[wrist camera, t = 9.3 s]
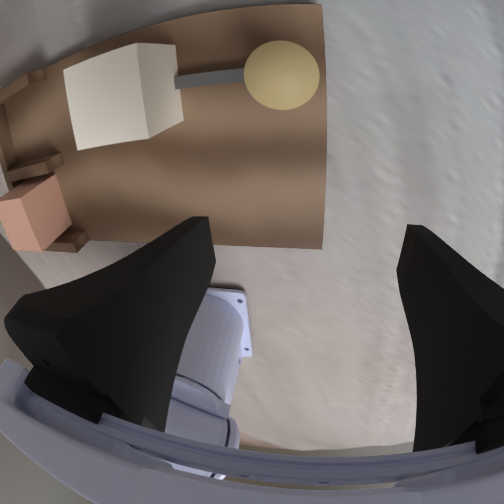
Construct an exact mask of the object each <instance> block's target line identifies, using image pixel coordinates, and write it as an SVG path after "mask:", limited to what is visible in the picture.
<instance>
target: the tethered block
mask: <svg viewBox="0 0 504 504" xmlns="http://www.w3.org/2000/svg"><path fill="white" fill-rule="evenodd" d="M63 73H64V80H65V87H66V94H67V100H68V106H69V111H70V117H71V122H72V127H73V132H74V136H75V141H76V145H77V150H83V149H88V148H93V147H98V146H104V145H110V144H116V143H122V142H128V141H135V140H143V139H149V138H151V137H153V136H155V135H157V134H159V133H160V132H162V131H164V130H166V129H168V128H170V127H172V126H174V125H176V124H178V123H180V122H182V121H184V119H183V111H182V103H181V94H180V89H183V88H190V87H197V86H205V85H215V84H225V83H238V82H245V84H246V87H247V89H248V91H249V93H250V94H251V95H252V97H253V98H254V99H255V100H257V101H258V102H259V103H261V104H262V105H264V106H266V107H269V108H272V109H277V110H289V109H294V108H297V107H299V106H302V105H303V104H305V103H306V102H307V101H309V100H310V99H311V98H312V96H313V95H314V94H315V92H316V90H317V88H318V85H319V78H320V74H319V68H318V65H317V63H316V61H315V59H314V57H313V56H312V55H311V53H310V52H308V51H307V50H306V49H305V48H304V47H302V46H300V45H298V44H296V43H293V42H290V41H281V40H279V41H272V42H268V43H265V44H263V45H261V46H259V47H258V48H257V49H255V50H254V51H253V52H252V53H251V55H250V56H249V58H248V59H247V61H246V64H245V67H244V69H232V70H221V71H212V72H204V73H196V74H189V75H183V76H178V67H177V57H176V46H175V45H169V44H153V43H134V44H131V45H128V46H124V47H121V48H118V49H115V50H112V51H109V52H107V53H104V54H101V55H98V56H96V57H93V58H90V59H88V60H85V61H83V62H80V63H78V64H76V65H73V66H71V67H69V68H66V69H64V70H63Z"/></svg>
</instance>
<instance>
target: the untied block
mask: <svg viewBox="0 0 504 504" xmlns="http://www.w3.org/2000/svg"><path fill="white" fill-rule="evenodd" d="M0 220H1V222H2V225H3V227H4V229H5V232H6V234H7V236H8V239H9V241H10V243H11V245H12V247H13V249H14V250H21V251H33V252H43V251H44V250H45V249H46V248H47V247H48V246H49V245H50V244H51V243H52V242H53V241H54V240H55V239H56V238H57V237H58V236H60V235H61V234H62V233H63V232H64V231H65V230H66V229H67V228H68V227H69V226H70V225H71V224H72V222H71V219H70V216H69V214H68V211H67V208H66V205H65V202H64V199H63V196H62V193H61V190H60V187H59V183H58V180H57V177H56V174H53V175H48V176H43V177H38V178H33V179H29V180H25V181H24V182H22V183H21V184H19V185H18V186H16V187H15V188H13V189H12V190H11V191H9V192H8V193H6V194H5V195H4V196H2V197H1V198H0Z"/></svg>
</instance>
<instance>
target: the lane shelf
mask: <svg viewBox="0 0 504 504" xmlns="http://www.w3.org/2000/svg"><path fill="white" fill-rule="evenodd" d="M279 40H281V41H290V42H293V43H296V44H298V45H300V46H302V47H304V48H305V49H306V50H307V51H308V52H310V53H311V55H312V56H313V57H314V59H315V61H316V63H317V65H318V68H319V74H320V78H319V85H318V88H317V90H316V92H315V94H314V95H313V96H312V98H311V99H310V100H309V101H307V102H306V103H305V104H303V105H302V106H299V107H297V108H294V109H289V110H277V109H272V108H269V107H266V106H264V105H262V104H261V103H259V102H258V101H257V100H255V99H254V98H253V97H252V95H251V94H250V93H249V91H248V89H247V87H246V84H245V82H238V83H225V84H215V85H205V86H197V87H190V88H183V89H180V94H181V103H182V111H183V119H184V121H182V122H180V123H178V124H176V125H174V126H172V127H170V128H168V129H166V130H164V131H162V132H160V133H159V134H157V135H155V136H153V137H151V138H149V139H143V140H135V141H128V142H122V143H116V144H110V145H104V146H98V147H93V148H88V149H83V150H77V145H76V141H75V136H74V132H73V127H72V122H71V117H70V111H69V106H68V100H67V94H66V87H65V80H64V73H63V70H64V69H66V68H69V67H71V66H73V65H76V64H78V63H80V62H83V61H85V60H88V59H90V58H93V57H96V56H98V55H101V54H104V53H107V52H109V51H112V50H115V49H118V48H121V47H124V46H128V45H131V44H134V43H153V44H169V45H175V46H176V57H177V67H178V76H183V75H189V74H196V73H204V72H212V71H221V70H232V69H244V67H245V64H246V61H247V59H248V58H249V56H250V55H251V53H252V52H253V51H254V50H255V49H257V48H258V47H259V46H261V45H263V44H265V43H268V42H272V41H279ZM326 152H327V98H326V64H325V44H324V28H323V15H322V4H282V5H263V6H251V7H241V8H233V9H226V10H219V11H213V12H207V13H201V14H196V15H191V16H186V17H182V18H177V19H173V20H169V21H165V22H161V23H158V24H154V25H151V26H147V27H144V28H141V29H137V30H134V31H131V32H128V33H125V34H122V35H119V36H117V37H114V38H111V39H108V40H106V41H103V42H101V43H98V44H96V45H93V46H91V47H89V48H86V49H84V50H82V51H79V52H77V53H75V54H73V55H71V56H69V57H66V58H64V59H62V60H60V61H58V62H56V63H54V64H53V65H51V66H49V67H47V68H44V69H40V70H35V71H31V72H27V73H26V74H24V75H22V76H21V77H19V78H18V79H16V80H15V81H13V82H12V83H10V84H9V85H7V86H6V87H4V88H3V89H1V90H0V163H1V167H2V170H3V173H4V177H5V180H6V183H7V186H8V189H9V191H11V190H12V189H13V188H15V187H16V186H18V185H19V184H21V183H22V182H24V181H25V180H29V179H33V178H38V177H43V176H48V175H53V174H56V177H57V180H58V183H59V187H60V190H61V193H62V196H63V199H64V202H65V205H66V208H67V211H68V214H69V216H70V219H71V222H72V224H71V225H70V226H69V227H68V228H67V229H66V230H65V231H64V232H63V233H62V234H61V235H60V236H58V237H57V238H56V239H55V240H54V241H53V242H52V243H51V244H50V245H49V246H48V247H47V248H46V249H45V250H44V251H57V252H71V253H78V251H79V250H80V249H81V248H82V247H83V246H84V245H85V244H86V243H87V242H88V241H89V240H97V241H125V242H151V241H153V240H155V239H156V238H158V237H159V236H161V235H162V234H164V233H165V232H167V231H168V230H170V229H172V228H173V227H175V226H176V225H178V224H179V223H181V222H183V221H185V220H186V219H188V218H190V217H192V216H208V217H209V224H210V230H211V236H212V242H213V245H230V246H254V247H278V248H301V249H322V242H323V227H324V210H325V188H326Z"/></svg>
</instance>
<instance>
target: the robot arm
mask: <svg viewBox="0 0 504 504" xmlns="http://www.w3.org/2000/svg"><path fill="white" fill-rule="evenodd" d="M215 263H216V259H215V253H214V247H213V242H212V236H211V230H210V224H209V217H208V216H192V217H190V218H188V219H186V220H185V221H183V222H181V223H179V224H178V225H176V226H175V227H173V228H172V229H170V230H168V231H167V232H165V233H164V234H162V235H161V236H159V237H158V238H156V239H155V240H153V241H151V242H150V243H148V244H146V245H145V246H143V247H141V248H140V249H138V250H137V251H135V252H133V253H132V254H130V255H128V256H126V257H124V258H123V259H121V260H119V261H117V262H115V263H113V264H111V265H109V266H107V267H105V268H103V269H100V270H98V271H96V272H93V273H91V274H89V275H87V276H84V277H82V278H79V279H77V280H74V281H71V282H68V283H65V284H62V285H59V286H56V287H53V288H50V289H46V290H42V291H39V292H34V293H31V294H26V295H24V296H23V297H21V298H20V299H19V300H18V302H17V303H16V304H15V305H14V307H13V308H12V309H11V310H10V311H9V313H8V314H7V315H6V316H5V319H4V324H5V328H6V330H7V332H8V334H9V336H10V337H11V338H12V340H13V341H14V343H15V344H16V345H17V346H18V347H19V349H20V350H21V351H22V352H23V354H24V355H25V356H26V357H27V359H28V360H29V361H30V362H31V363H32V364H33V365H34V367H33V368H32V370H31V371H30V372H29V371H28V370H27V369H26V368H24V367H23V366H21V365H20V364H18V363H16V362H14V361H12V360H11V359H9V358H6V359H5V361H4V362H3V364H2V365H1V367H0V432H1V433H2V434H3V435H4V436H5V437H6V438H7V439H8V440H9V441H11V442H12V443H13V444H14V445H15V446H16V447H17V448H18V449H19V450H21V451H22V452H23V453H24V454H25V455H26V456H28V457H29V458H30V459H31V460H32V461H34V462H35V463H36V464H38V465H39V466H40V467H41V468H42V469H44V470H45V471H46V472H48V473H49V474H50V475H52V476H53V477H54V478H56V479H57V480H59V481H60V482H61V483H63V484H64V485H66V486H67V487H69V488H70V489H72V490H73V491H75V492H76V493H78V494H80V495H81V496H83V497H84V498H86V499H88V500H89V501H91V502H93V503H95V504H504V289H503V288H502V287H501V286H499V285H498V284H496V283H495V282H494V281H492V280H491V279H489V278H488V277H487V276H485V275H484V274H483V273H481V272H480V271H479V270H478V269H476V268H475V267H474V266H473V265H471V264H470V263H469V262H468V261H467V260H465V259H464V258H463V257H462V256H461V255H459V254H458V253H457V252H456V251H455V250H453V249H452V248H451V247H450V246H449V245H448V244H446V243H445V242H444V241H443V240H442V239H440V238H439V237H438V236H437V235H435V234H434V233H433V232H432V231H430V230H429V229H427V228H426V227H424V226H423V225H411V224H407V228H406V233H405V237H404V242H403V246H402V250H401V254H400V258H399V262H398V266H397V270H396V271H397V278H398V284H399V291H400V296H401V299H402V303H403V307H404V311H405V314H406V318H407V322H408V326H409V330H410V334H411V338H412V343H413V348H414V354H415V366H416V382H417V412H416V428H415V438H414V446H413V452H411V453H403V454H392V455H380V456H364V457H363V456H361V457H315V456H314V457H312V456H296V455H283V454H272V453H264V452H256V451H248V450H241V449H238V448H239V442H240V433H239V429H238V427H237V423H236V421H235V420H234V419H233V418H231V417H228V416H229V412H230V408H231V405H229V404H230V403H231V400H232V397H233V393H234V389H235V385H236V381H237V377H238V373H239V369H240V365H241V361H242V357H251V356H252V354H253V350H252V341H251V333H250V325H249V316H248V308H247V299H246V293H245V292H244V291H242V290H234V289H221V288H209V284H210V281H211V278H212V274H213V271H214V267H215ZM239 299H241V300H239ZM226 476H232V477H237V478H244V479H251V480H257V481H265V482H275V483H286V484H301V485H362V484H378V483H388V482H397V481H400V482H397V483H396V484H395V485H394V487H392V488H381V489H363V490H336V491H335V490H327V491H326V490H298V489H284V488H273V487H264V486H257V485H249V484H243V483H237V482H231V481H225V480H223V479H224V478H225V477H226Z"/></svg>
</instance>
